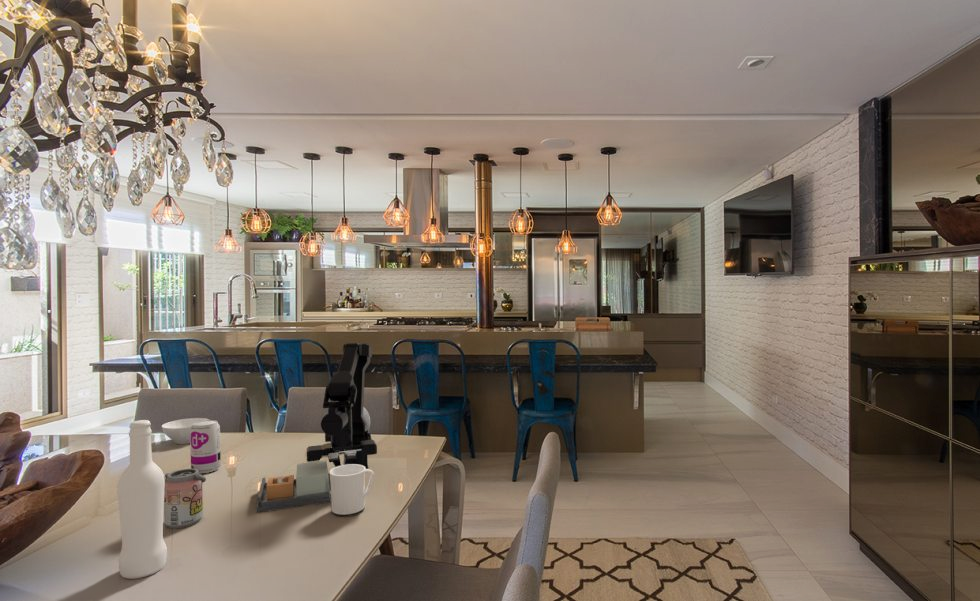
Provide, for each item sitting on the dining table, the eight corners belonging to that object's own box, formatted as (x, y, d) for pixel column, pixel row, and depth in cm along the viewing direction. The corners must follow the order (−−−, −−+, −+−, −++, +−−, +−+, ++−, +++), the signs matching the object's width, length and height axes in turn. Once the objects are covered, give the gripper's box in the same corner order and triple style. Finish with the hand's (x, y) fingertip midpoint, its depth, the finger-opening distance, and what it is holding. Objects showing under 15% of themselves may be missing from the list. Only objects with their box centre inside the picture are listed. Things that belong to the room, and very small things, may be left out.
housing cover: (326, 479, 151) (326, 460, 151) (328, 494, 140) (328, 473, 140) (297, 483, 149) (297, 463, 148) (296, 499, 137) (296, 477, 137)
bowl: (195, 447, 190) (195, 428, 190) (151, 447, 191) (151, 428, 190) (218, 435, 206) (218, 417, 206) (178, 435, 207) (178, 418, 206)
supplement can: (208, 475, 160) (207, 426, 160) (184, 474, 162) (183, 425, 162) (226, 466, 168) (225, 420, 168) (204, 465, 170) (203, 419, 170)
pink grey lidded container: (180, 512, 133) (179, 465, 132) (213, 512, 132) (212, 465, 132) (155, 529, 123) (154, 478, 123) (190, 529, 123) (189, 478, 123)
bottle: (134, 560, 109) (130, 417, 108) (175, 558, 110) (171, 415, 109) (109, 582, 101) (105, 426, 100) (153, 579, 101) (149, 425, 101)
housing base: (328, 481, 153) (328, 464, 153) (330, 502, 138) (330, 482, 138) (261, 490, 147) (261, 471, 147) (256, 512, 132) (256, 492, 132)
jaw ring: (294, 487, 146) (293, 474, 146) (293, 495, 140) (293, 482, 140) (268, 490, 144) (268, 478, 144) (266, 499, 137) (266, 486, 137)
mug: (329, 519, 127) (329, 477, 127) (330, 505, 136) (329, 466, 136) (375, 513, 130) (375, 472, 130) (373, 500, 139) (372, 461, 139)
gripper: (371, 416, 157) (372, 467, 158) (306, 422, 151) (307, 475, 151) (376, 424, 147) (377, 480, 147) (306, 431, 141) (307, 489, 141)
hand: (342, 480), depth 147 cm, fingers closed
